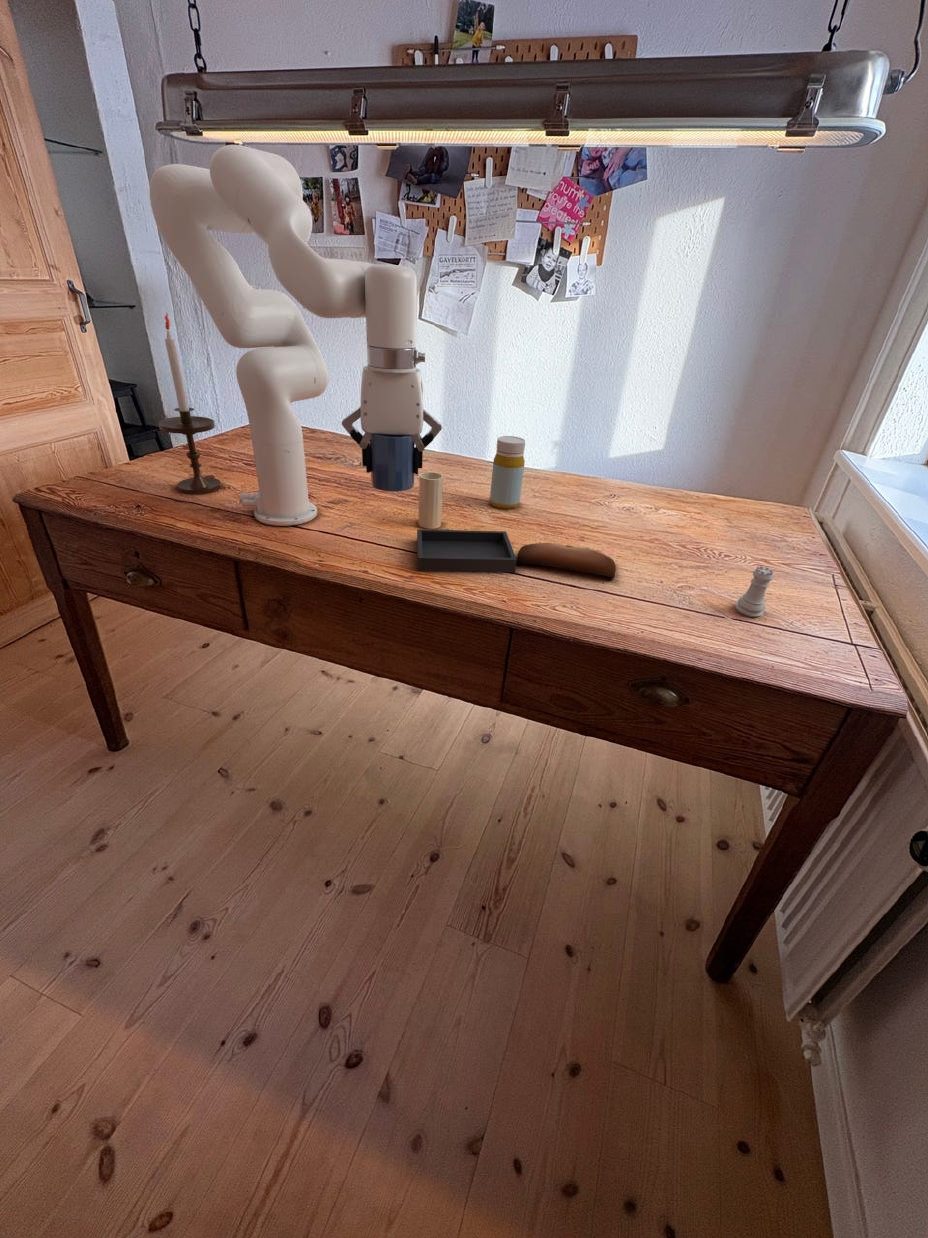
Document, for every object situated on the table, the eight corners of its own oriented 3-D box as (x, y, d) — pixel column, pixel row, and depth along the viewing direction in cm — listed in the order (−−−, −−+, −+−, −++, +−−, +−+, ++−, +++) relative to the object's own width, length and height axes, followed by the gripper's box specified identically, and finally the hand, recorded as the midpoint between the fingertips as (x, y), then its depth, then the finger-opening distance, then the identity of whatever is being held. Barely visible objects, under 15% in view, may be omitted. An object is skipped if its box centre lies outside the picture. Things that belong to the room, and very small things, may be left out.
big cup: (369, 490, 92) (368, 436, 87) (372, 476, 98) (371, 425, 93) (413, 492, 93) (414, 438, 88) (414, 478, 99) (414, 427, 94)
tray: (418, 571, 97) (418, 557, 96) (417, 541, 108) (417, 529, 106) (515, 572, 99) (516, 559, 98) (504, 543, 110) (506, 531, 108)
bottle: (517, 511, 125) (525, 445, 117) (487, 507, 126) (493, 441, 118) (520, 501, 131) (528, 437, 123) (492, 497, 132) (498, 433, 124)
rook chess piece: (738, 616, 91) (755, 573, 87) (731, 603, 95) (747, 561, 90) (766, 620, 91) (784, 577, 86) (758, 606, 94) (775, 565, 90)
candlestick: (195, 476, 130) (160, 309, 112) (235, 483, 128) (207, 313, 109) (162, 490, 121) (119, 311, 103) (204, 498, 119) (168, 316, 101)
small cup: (418, 528, 113) (419, 478, 108) (418, 519, 117) (419, 471, 112) (441, 529, 114) (443, 479, 108) (440, 520, 118) (442, 472, 112)
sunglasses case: (614, 560, 105) (620, 539, 99) (610, 591, 102) (616, 572, 96) (522, 545, 108) (523, 525, 102) (515, 575, 105) (515, 555, 99)
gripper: (446, 358, 89) (442, 466, 98) (337, 352, 87) (344, 462, 97) (448, 365, 83) (443, 480, 92) (331, 359, 81) (339, 476, 90)
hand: (392, 470), depth 94 cm, fingers closed on big cup, 7 cm apart
